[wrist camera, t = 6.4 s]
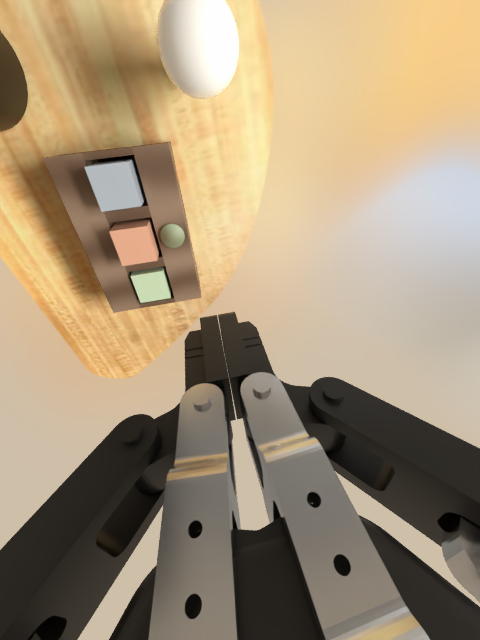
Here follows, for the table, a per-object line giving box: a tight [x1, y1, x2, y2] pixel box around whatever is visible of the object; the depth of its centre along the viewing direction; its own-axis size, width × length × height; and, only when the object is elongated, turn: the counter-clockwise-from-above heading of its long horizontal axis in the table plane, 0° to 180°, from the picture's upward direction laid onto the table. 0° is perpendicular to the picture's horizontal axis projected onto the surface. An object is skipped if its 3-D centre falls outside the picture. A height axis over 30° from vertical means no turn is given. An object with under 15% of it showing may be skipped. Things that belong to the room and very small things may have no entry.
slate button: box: [84, 158, 146, 212], centre depth 28 cm, size 4×4×4 cm
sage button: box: [131, 266, 171, 303], centre depth 36 cm, size 4×4×4 cm
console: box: [43, 142, 201, 313], centre depth 33 cm, size 18×12×5 cm, turn 5°
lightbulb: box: [157, 0, 239, 99], centre depth 23 cm, size 6×6×11 cm
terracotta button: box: [109, 217, 160, 266], centre depth 31 cm, size 4×4×4 cm
